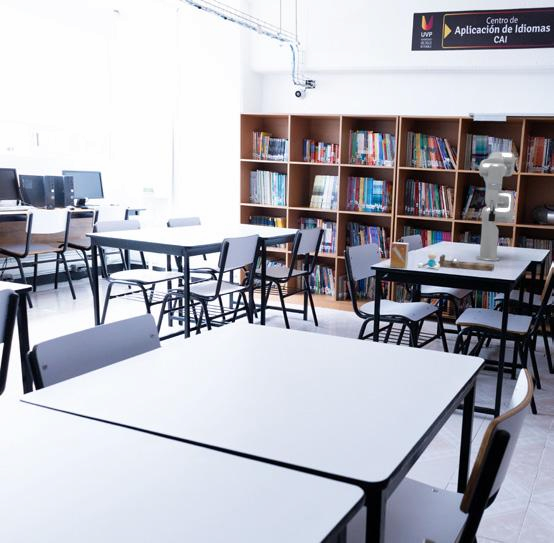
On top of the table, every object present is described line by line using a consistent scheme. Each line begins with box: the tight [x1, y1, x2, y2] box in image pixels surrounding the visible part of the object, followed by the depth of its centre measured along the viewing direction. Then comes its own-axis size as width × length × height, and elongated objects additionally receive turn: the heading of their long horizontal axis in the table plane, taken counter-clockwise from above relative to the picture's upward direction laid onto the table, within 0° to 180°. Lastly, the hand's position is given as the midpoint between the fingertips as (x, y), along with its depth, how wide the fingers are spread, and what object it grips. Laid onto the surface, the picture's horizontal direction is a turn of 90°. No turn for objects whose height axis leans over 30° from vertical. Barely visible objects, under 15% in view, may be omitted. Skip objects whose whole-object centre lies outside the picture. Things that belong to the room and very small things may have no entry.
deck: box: [437, 254, 495, 272], centre depth 355 cm, size 28×10×6 cm, turn 68°
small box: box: [389, 241, 410, 269], centre depth 348 cm, size 8×6×13 cm
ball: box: [450, 258, 459, 263], centre depth 358 cm, size 4×4×4 cm
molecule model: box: [417, 252, 441, 271], centre depth 349 cm, size 12×12×9 cm
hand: (491, 221), depth 359 cm, fingers closed
